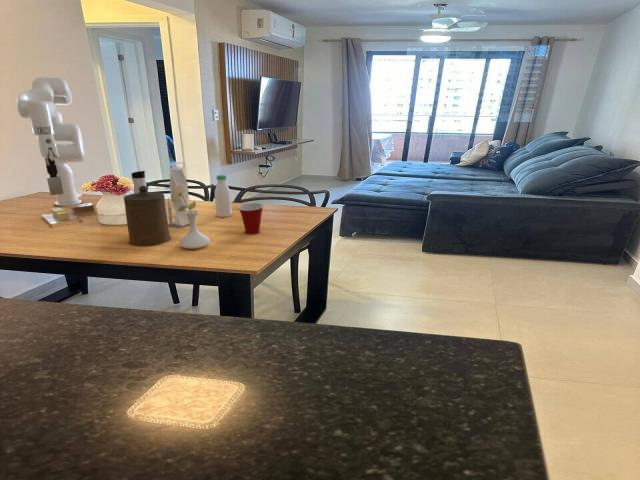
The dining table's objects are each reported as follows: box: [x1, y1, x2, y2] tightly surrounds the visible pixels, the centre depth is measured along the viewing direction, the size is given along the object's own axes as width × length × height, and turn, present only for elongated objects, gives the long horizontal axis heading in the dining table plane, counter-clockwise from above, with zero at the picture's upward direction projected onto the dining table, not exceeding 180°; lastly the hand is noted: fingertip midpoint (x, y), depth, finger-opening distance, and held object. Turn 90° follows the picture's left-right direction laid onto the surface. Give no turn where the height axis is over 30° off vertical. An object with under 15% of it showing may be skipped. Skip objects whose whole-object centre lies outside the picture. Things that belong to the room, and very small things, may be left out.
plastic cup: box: [237, 202, 264, 235], centre depth 164 cm, size 11×11×12 cm
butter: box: [51, 207, 66, 218], centre depth 180 cm, size 7×4×3 cm, turn 45°
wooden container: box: [123, 185, 171, 247], centre depth 151 cm, size 15×15×22 cm
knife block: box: [70, 202, 95, 216], centre depth 186 cm, size 5×9×5 cm, turn 135°
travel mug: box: [130, 170, 148, 194], centre depth 197 cm, size 6×7×20 cm
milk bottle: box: [214, 174, 233, 218], centre depth 188 cm, size 8×8×20 cm
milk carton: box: [167, 161, 190, 229], centre depth 171 cm, size 8×8×28 cm
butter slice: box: [57, 212, 69, 220], centre depth 175 cm, size 2×4×3 cm, turn 135°
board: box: [41, 210, 82, 225], centre depth 178 cm, size 20×12×2 cm, turn 45°
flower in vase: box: [169, 184, 211, 250], centre depth 143 cm, size 13×11×25 cm
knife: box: [46, 163, 64, 196], centre depth 171 cm, size 5×2×15 cm, turn 135°
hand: (52, 173), depth 170 cm, fingers closed on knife, 1 cm apart
